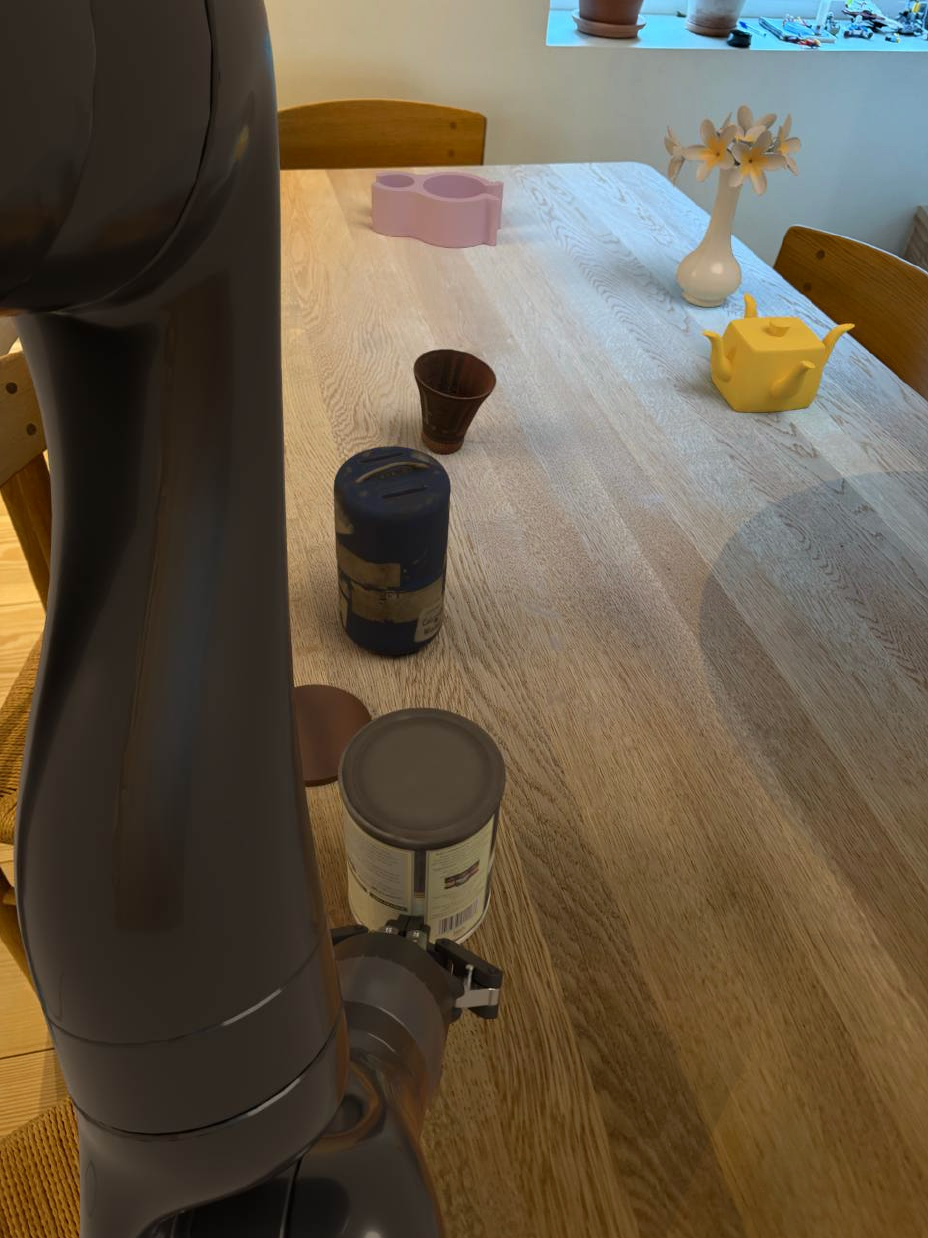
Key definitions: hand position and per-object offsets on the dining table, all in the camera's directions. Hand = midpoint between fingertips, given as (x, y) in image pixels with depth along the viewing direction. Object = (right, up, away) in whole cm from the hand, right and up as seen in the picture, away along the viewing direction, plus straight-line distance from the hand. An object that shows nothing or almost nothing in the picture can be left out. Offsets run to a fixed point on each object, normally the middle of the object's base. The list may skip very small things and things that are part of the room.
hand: (409, 930), depth 62 cm
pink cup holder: (-1, +82, +91) cm, 122 cm away
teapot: (+41, +49, +60) cm, 87 cm away
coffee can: (0, +1, +7) cm, 7 cm away
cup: (+2, +40, +47) cm, 62 cm away
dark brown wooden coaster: (-9, +10, +16) cm, 21 cm away
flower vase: (+38, +66, +78) cm, 109 cm away
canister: (-3, +19, +26) cm, 33 cm away
